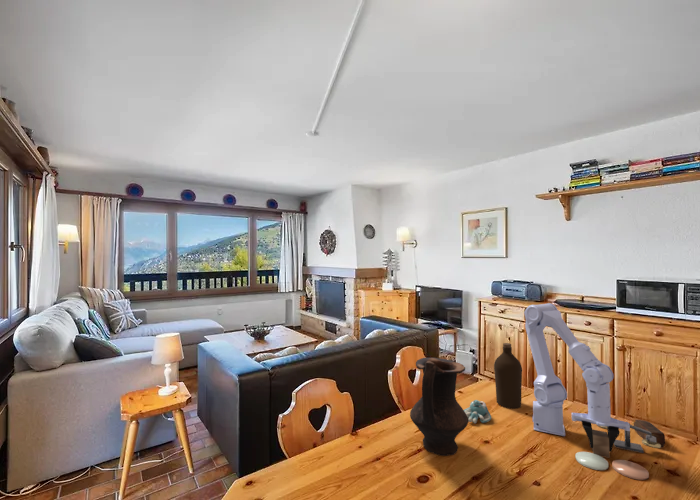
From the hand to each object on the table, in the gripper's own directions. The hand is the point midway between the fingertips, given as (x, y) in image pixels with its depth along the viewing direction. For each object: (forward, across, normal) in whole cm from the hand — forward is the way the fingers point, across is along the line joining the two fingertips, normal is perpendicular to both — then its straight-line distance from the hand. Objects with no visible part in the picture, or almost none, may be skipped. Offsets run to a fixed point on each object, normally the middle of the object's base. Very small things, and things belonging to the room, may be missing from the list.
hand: (600, 448), depth 106 cm
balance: (+1, +8, +8) cm, 11 cm away
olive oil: (+2, -28, +26) cm, 38 cm away
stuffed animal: (+2, -38, +6) cm, 38 cm away
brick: (+2, +15, +18) cm, 23 cm away
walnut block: (+1, 0, 0) cm, 1 cm away
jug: (+2, -45, -21) cm, 50 cm away
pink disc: (+1, +6, -7) cm, 9 cm away
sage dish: (+1, -3, -7) cm, 8 cm away
